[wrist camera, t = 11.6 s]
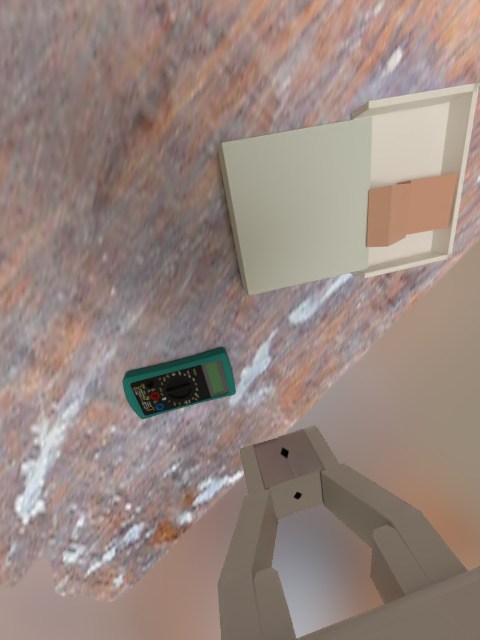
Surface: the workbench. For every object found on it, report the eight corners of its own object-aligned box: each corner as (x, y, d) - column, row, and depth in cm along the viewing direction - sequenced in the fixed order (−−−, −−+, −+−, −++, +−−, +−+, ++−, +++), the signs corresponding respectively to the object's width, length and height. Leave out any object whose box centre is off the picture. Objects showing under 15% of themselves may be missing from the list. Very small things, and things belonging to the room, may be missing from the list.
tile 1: (457, 173, 28) (440, 176, 30) (411, 180, 28) (396, 183, 30) (447, 227, 30) (432, 227, 33) (404, 235, 30) (391, 234, 32)
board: (218, 154, 26) (221, 142, 22) (348, 130, 27) (372, 116, 23) (242, 287, 32) (248, 295, 28) (348, 263, 33) (367, 268, 29)
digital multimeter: (122, 370, 34) (115, 383, 31) (225, 344, 35) (227, 354, 32) (140, 409, 37) (136, 424, 34) (235, 384, 38) (238, 396, 35)
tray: (351, 114, 27) (368, 101, 24) (451, 96, 28) (479, 82, 25) (351, 273, 34) (364, 278, 31) (430, 255, 35) (450, 258, 32)
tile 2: (369, 189, 26) (392, 185, 24) (389, 187, 29) (410, 183, 28) (366, 247, 28) (387, 246, 26) (385, 238, 32) (405, 237, 30)
